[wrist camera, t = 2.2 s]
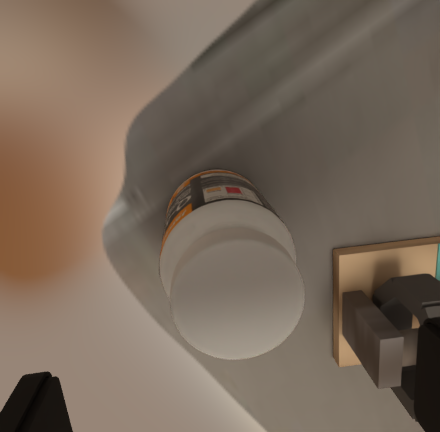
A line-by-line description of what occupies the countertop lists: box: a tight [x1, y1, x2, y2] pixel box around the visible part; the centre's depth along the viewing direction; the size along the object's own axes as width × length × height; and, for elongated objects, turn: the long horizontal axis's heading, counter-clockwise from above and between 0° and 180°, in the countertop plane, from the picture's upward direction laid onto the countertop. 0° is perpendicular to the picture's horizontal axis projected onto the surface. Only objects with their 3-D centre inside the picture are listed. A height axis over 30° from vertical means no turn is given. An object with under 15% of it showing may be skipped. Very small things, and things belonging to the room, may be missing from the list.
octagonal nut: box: [373, 273, 440, 422], centre depth 20 cm, size 7×2×7 cm, turn 5°
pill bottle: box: [159, 170, 305, 360], centre depth 18 cm, size 6×6×10 cm
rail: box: [333, 236, 440, 389], centre depth 22 cm, size 8×10×6 cm
